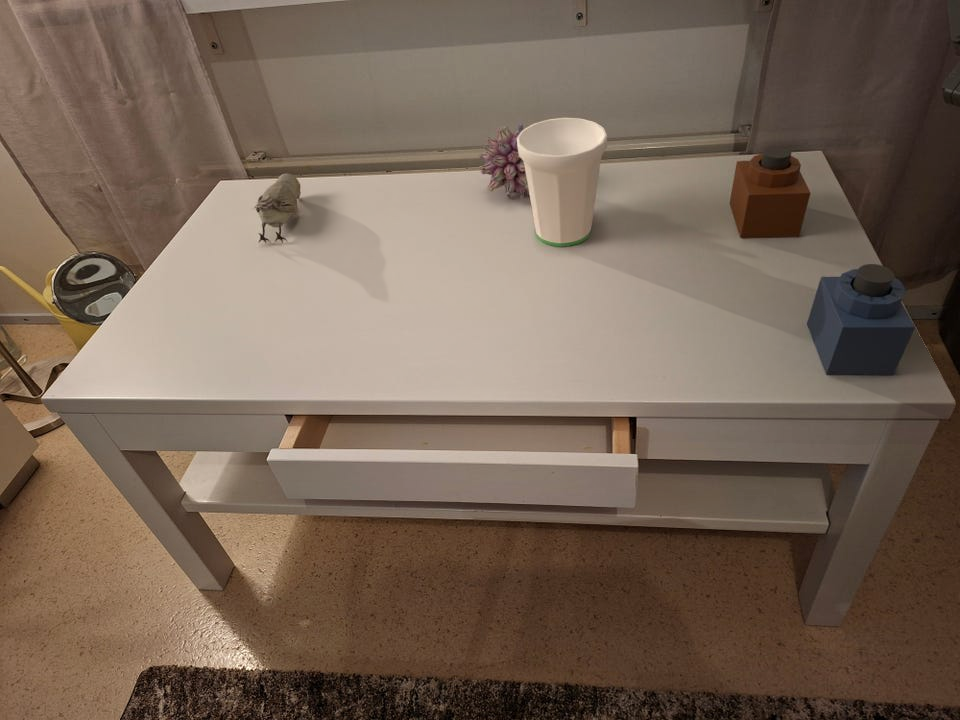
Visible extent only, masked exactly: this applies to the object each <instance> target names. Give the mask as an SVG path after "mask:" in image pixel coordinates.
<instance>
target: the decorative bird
mask: <svg viewBox="0 0 960 720" xmlns="http://www.w3.org/2000/svg"><path fill="white" fill-rule="evenodd" d="M301 193H302V192H301V183H300V181H299V179H298V178H297V177H296V176H295V175H294V174H291V173H283V174H281V175H279V176H278V178H277V179H276V181H275V183H273V184H271V185H270V186H268V187H267V188H266V189H265V191H264V193H263V194H261V195H260V196H259V197H258V198H257V202H256V203H255V206H253V208H252V210H254V209H255V211H256V213H258V216H259V218H260V220H261V228H262V234H261V232H258V235H259V240H258V243H261V241H264V243H265V244H267V241H268V242H271V240H270V239H269V238H267V237H266V236H265V233H266V230H265V229H266V225H268V226H270V227H271V228H278V231H279V232H277V231H275V234H276V238H275V240H274V242H275V243H276V242H277V241H278V240H280V241H281V243H282V244H284V240H285V241H286V242H288V240H287V239H286V238H285V237H284V236H282V235H281V234H282V226H283V225H284V224H286V223H287V222H288V221H289V219H290V218H291V217H292V216H295V215H297V213H298V209H299V205H298V200H299V198H300V197H301Z"/></svg>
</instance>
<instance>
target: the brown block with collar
mask: <svg viewBox="0 0 960 720" xmlns="http://www.w3.org/2000/svg"><path fill="white" fill-rule="evenodd" d="M762 156H763V152H762V153H760V154H756V155H753V157H752V158H751V159H750V160H738V161H737V160H736V164H735V169H734V175H733V181H732V187H731V191H730V199H729V205H730V208H731V212H732V215H733V219H734V222H735V225H736V229H737V231H738V235H739V238H740V239H760V238H761V239H763V238H764V239H765V238H769V239H770V238H799V237H800V235H801V231H802V227H803V225H804V224H803V223H804V220H805V216H806V212H807V209H808V205H809V201H810V196H811V190H810V189H809V187H808V185H807V182H806V180H805V178H804V177H803V174H802V172H801V167H802V165H801V163H800V160H799V159H798V157H797V158H796V157H794V156H793V155H791V157H790V162H789V166H788V168H787V169H784V170H770V169H765V168H763V167H762V166H761V161H762Z"/></svg>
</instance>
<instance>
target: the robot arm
mask: <svg viewBox="0 0 960 720" xmlns="http://www.w3.org/2000/svg"><path fill="white" fill-rule="evenodd" d="M946 2H947V11H948V20H949V21H948V22H949V30H950V31H949V32H950V39H951V43H952V47H953V50H954V53H955V56H958V57H960V0H947V1H946ZM941 90H942V97H943V101H944V103H945V104H948V105H951V106H955V107H959V108H960V59H959V60H958V61H957V63H956V64H955V66H953V68H952V70H951V71H950V72H949V73H948V75H947V76H946V78H945V79H944V81H943V82H942V85H941Z"/></svg>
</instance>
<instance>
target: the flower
mask: <svg viewBox="0 0 960 720" xmlns="http://www.w3.org/2000/svg"><path fill="white" fill-rule="evenodd" d="M524 129H525V128H524V124H523V122H521V123H519V124H518V127H517V129H516V130H515V131H514V132H512V131H511V130H510V129H509V127H508V125H504V126H503V127H499V128H497V129H496V131H497V133H498V134H497V139H492V138H490V137H489V136H487V137H486V139H485V141H486V142H487V143H488V144H486V143H484V144H482V148H483V149H484V150H486V152H485V153H478V155H477V156H478V158H480V159H483V160H484V161H485V162H484V163H483V164H482V165H479V170H480V174H482V175H490V179H489V184H488V186H487V190H488V191H490V192H493V191H494V190H496V189H500V188H502V187H504V190H505V195H506V196H505V197H506V198H507V199H510V198H511V195H512V194H513V192H514V191H516V193H517V194H518V195H519V198H520V199H523V198H525V195H527V196H529V195H530V194H529V188H528V183H527V177H526V171H525V166H524V161H523V160H522V159H521V158H520V157H519V153H518V146H517V137H518V136H519V134H520V133H521V132H522V130H524Z"/></svg>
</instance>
